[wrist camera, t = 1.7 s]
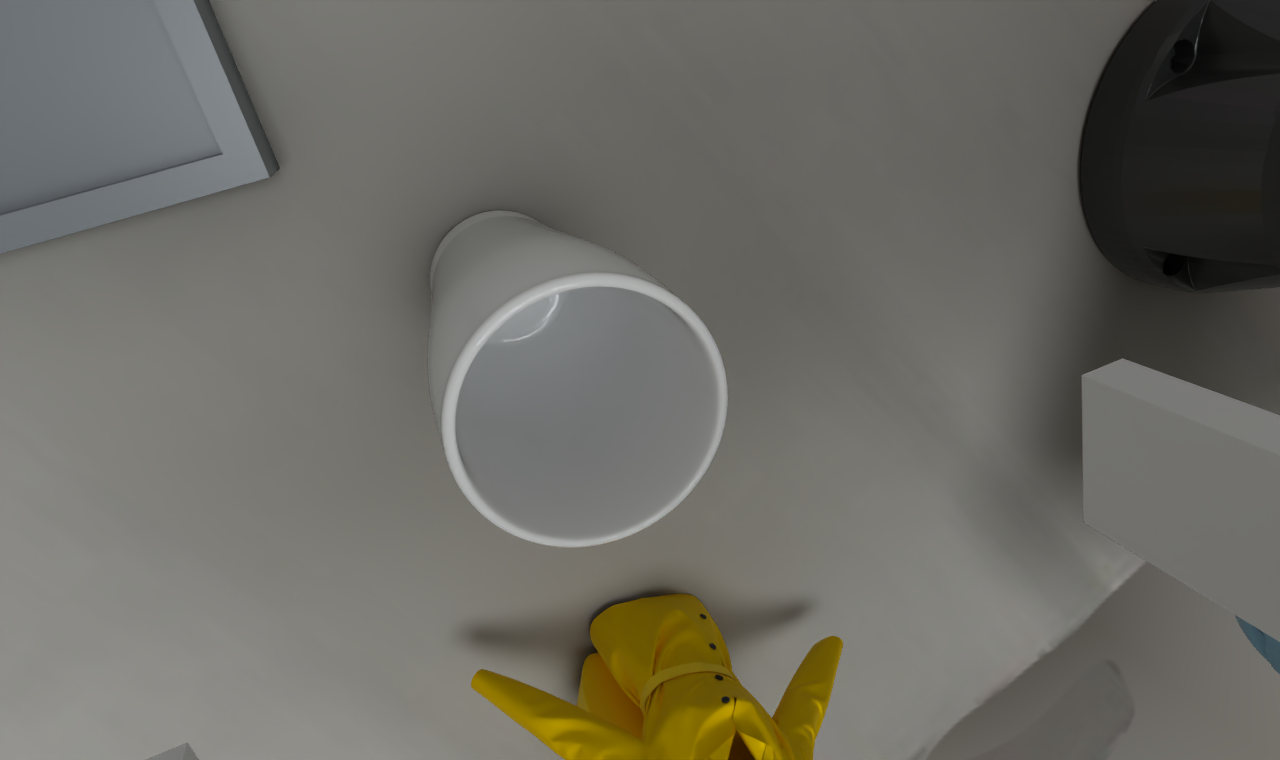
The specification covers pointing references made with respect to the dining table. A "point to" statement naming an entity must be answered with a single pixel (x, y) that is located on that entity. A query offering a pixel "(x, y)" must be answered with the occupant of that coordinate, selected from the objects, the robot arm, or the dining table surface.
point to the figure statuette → (669, 693)
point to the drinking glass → (566, 383)
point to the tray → (117, 114)
